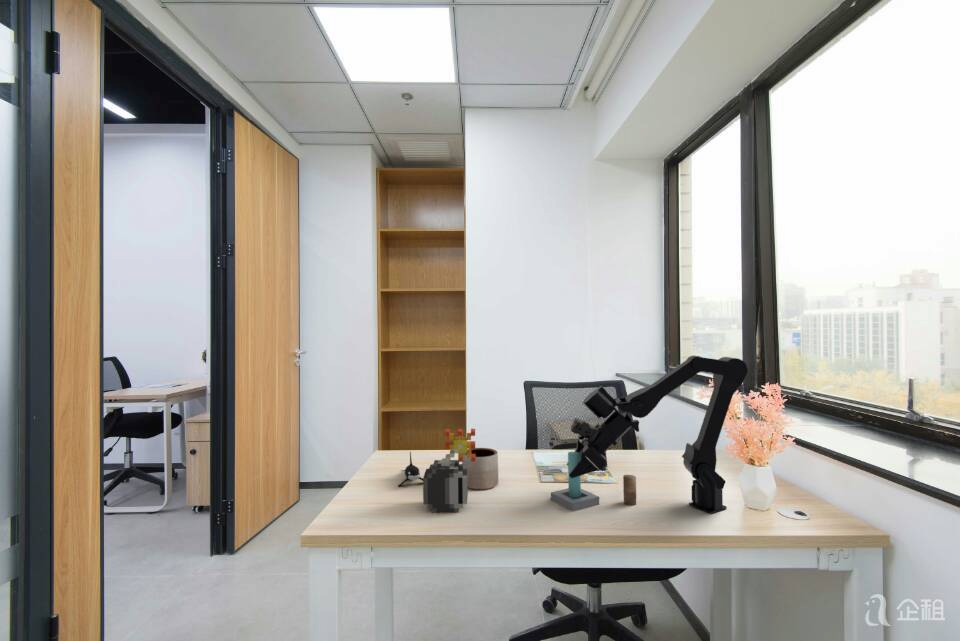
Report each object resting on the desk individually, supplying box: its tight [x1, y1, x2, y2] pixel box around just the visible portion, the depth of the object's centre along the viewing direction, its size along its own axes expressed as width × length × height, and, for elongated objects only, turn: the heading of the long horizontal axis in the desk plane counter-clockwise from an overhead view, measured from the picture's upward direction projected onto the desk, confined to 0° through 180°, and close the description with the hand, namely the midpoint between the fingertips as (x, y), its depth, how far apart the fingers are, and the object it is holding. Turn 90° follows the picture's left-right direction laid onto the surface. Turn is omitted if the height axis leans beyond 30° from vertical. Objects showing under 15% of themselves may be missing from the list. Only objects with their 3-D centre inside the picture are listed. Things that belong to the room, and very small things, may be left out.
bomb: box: [422, 428, 476, 514], centre depth 120 cm, size 8×13×20 cm, turn 90°
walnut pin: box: [622, 474, 637, 507], centre depth 121 cm, size 3×3×7 cm
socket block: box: [550, 487, 600, 512], centre depth 122 cm, size 9×9×2 cm
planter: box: [461, 447, 499, 491], centre depth 137 cm, size 11×11×10 cm
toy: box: [397, 451, 423, 487], centre depth 143 cm, size 21×10×10 cm, turn 16°
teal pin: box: [567, 451, 582, 500], centre depth 122 cm, size 3×3×13 cm
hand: (569, 471), depth 123 cm, fingers open, 9 cm apart
